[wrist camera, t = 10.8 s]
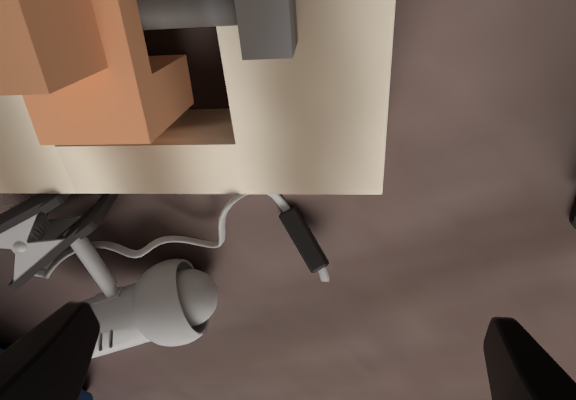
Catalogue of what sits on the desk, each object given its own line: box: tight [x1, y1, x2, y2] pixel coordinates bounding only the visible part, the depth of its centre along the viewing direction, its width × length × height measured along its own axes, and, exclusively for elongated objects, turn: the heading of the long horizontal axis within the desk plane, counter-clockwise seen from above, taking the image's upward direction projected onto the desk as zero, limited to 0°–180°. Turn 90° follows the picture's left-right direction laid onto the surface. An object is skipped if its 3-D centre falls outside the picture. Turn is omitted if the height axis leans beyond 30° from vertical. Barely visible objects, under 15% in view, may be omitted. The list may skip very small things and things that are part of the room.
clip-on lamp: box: [0, 193, 330, 359], centre depth 24 cm, size 12×6×18 cm
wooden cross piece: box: [0, 0, 194, 145], centre depth 13 cm, size 4×8×8 cm, turn 4°
